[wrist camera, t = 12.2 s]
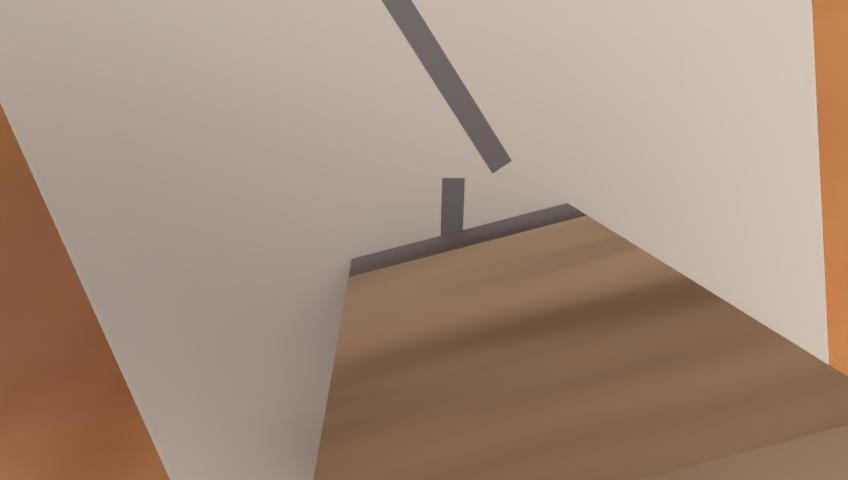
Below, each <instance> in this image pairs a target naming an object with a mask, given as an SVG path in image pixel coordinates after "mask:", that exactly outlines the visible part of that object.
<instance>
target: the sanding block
mask: <svg viewBox="0 0 848 480" xmlns="http://www.w3.org/2000/svg"><path fill="white" fill-rule="evenodd" d="M313 480H848V377H847V376H846V375H844V374H843V373H841V372H839V371H838V370H836V369H835V368H833V367H831V366H830V365H828V364H826V363H825V362H823V361H822V360H820V359H818V358H817V357H815V356H814V355H812V354H810V353H809V352H807V351H805V350H804V349H802V348H801V347H799V346H797V345H796V344H794V343H793V342H791V341H789V340H788V339H786V338H785V337H783V336H781V335H780V334H778V333H776V332H775V331H773V330H772V329H770V328H768V327H767V326H765V325H764V324H762V323H760V322H759V321H757V320H755V319H754V318H752V317H751V316H749V315H747V314H746V313H744V312H743V311H741V310H739V309H738V308H736V307H734V306H733V305H731V304H730V303H728V302H726V301H725V300H723V299H722V298H720V297H718V296H717V295H715V294H714V293H712V292H710V291H709V290H707V289H705V288H704V287H702V286H701V285H699V284H697V283H696V282H694V281H693V280H691V279H689V278H688V277H686V276H684V275H683V274H681V273H680V272H678V271H676V270H675V269H673V268H672V267H670V266H668V265H667V264H665V263H664V262H662V261H660V260H659V259H657V258H655V257H654V256H652V255H651V254H649V253H647V252H646V251H644V250H643V249H641V248H639V247H638V246H636V245H634V244H633V243H631V242H630V241H628V240H626V239H625V238H623V237H622V236H620V235H618V234H617V233H615V232H613V231H612V230H610V229H609V228H607V227H605V226H604V225H602V224H601V223H599V222H597V221H596V220H594V219H593V218H591V217H589V216H588V215H586V214H584V213H583V212H581V211H580V210H578V209H576V208H575V207H573V206H572V205H570V204H568V203H566V204H562V205H558V206H554V207H550V208H546V209H542V210H539V211H535V212H531V213H527V214H523V215H519V216H515V217H512V218H508V219H504V220H500V221H496V222H492V223H488V224H485V225H481V226H477V227H473V228H469V229H465V230H461V231H457V232H454V233H450V234H446V235H442V236H438V237H434V238H430V239H427V240H423V241H419V242H415V243H411V244H407V245H403V246H400V247H396V248H392V249H388V250H384V251H380V252H376V253H373V254H369V255H365V256H361V257H357V258H353V259H352V260H351V266H350V272H349V278H348V283H347V289H346V295H345V301H344V306H343V312H342V318H341V324H340V329H339V335H338V341H337V347H336V352H335V358H334V364H333V370H332V375H331V381H330V387H329V393H328V398H327V404H326V410H325V416H324V421H323V427H322V433H321V439H320V444H319V450H318V456H317V462H316V467H315V473H314V479H313Z"/></svg>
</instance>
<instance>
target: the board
mask: <svg viewBox="0 0 848 480" xmlns="http://www.w3.org/2000/svg"><path fill="white" fill-rule="evenodd" d="M0 104H1V106H2V108H3V110H4V113H5V115H6V117H7V119H8V121H9V124H10V126H11V128H12V130H13V133H14V135H15V137H16V139H17V141H18V144H19V146H20V148H21V150H22V152H23V155H24V157H25V159H26V161H27V164H28V166H29V168H30V170H31V172H32V175H33V177H34V179H35V181H36V184H37V186H38V188H39V190H40V192H41V195H42V197H43V199H44V201H45V204H46V206H47V208H48V210H49V212H50V215H51V217H52V219H53V221H54V224H55V226H56V228H57V230H58V232H59V235H60V237H61V239H62V241H63V244H64V246H65V248H66V250H67V252H68V255H69V257H70V259H71V261H72V264H73V266H74V268H75V270H76V272H77V275H78V277H79V279H80V281H81V283H82V286H83V288H84V290H85V292H86V295H87V297H88V299H89V301H90V303H91V306H92V308H93V310H94V312H95V315H96V317H97V319H98V321H99V323H100V326H101V328H102V330H103V332H104V335H105V337H106V339H107V341H108V343H109V346H110V348H111V350H112V352H113V355H114V357H115V359H116V361H117V363H118V366H119V368H120V370H121V372H122V375H123V377H124V379H125V381H126V383H127V386H128V388H129V390H130V392H131V395H132V397H133V399H134V401H135V403H136V406H137V408H138V410H139V412H140V414H141V417H142V419H143V421H144V423H145V426H146V428H147V430H148V432H149V434H150V437H151V439H152V441H153V443H154V446H155V448H156V450H157V452H158V454H159V457H160V459H161V461H162V463H163V466H164V468H165V470H166V472H167V474H168V477H169V479H170V480H313V479H314V473H315V467H316V462H317V456H318V450H319V444H320V439H321V433H322V427H323V421H324V416H325V410H326V404H327V398H328V393H329V387H330V381H331V375H332V370H333V364H334V358H335V352H336V347H337V341H338V335H339V329H340V324H341V318H342V312H343V306H344V301H345V295H346V289H347V283H348V278H349V272H350V266H351V260H352V259H353V258H357V257H361V256H365V255H369V254H373V253H376V252H380V251H384V250H388V249H392V248H396V247H400V246H403V245H407V244H411V243H415V242H419V241H423V240H427V239H430V238H434V237H438V236H442V235H446V234H450V233H454V232H457V231H461V230H465V229H469V228H473V227H477V226H481V225H485V224H488V223H492V222H496V221H500V220H504V219H508V218H512V217H515V216H519V215H523V214H527V213H531V212H535V211H539V210H542V209H546V208H550V207H554V206H558V205H562V204H566V203H568V204H570V205H572V206H573V207H575V208H576V209H578V210H580V211H581V212H583V213H584V214H586V215H588V216H589V217H591V218H593V219H594V220H596V221H597V222H599V223H601V224H602V225H604V226H605V227H607V228H609V229H610V230H612V231H613V232H615V233H617V234H618V235H620V236H622V237H623V238H625V239H626V240H628V241H630V242H631V243H633V244H634V245H636V246H638V247H639V248H641V249H643V250H644V251H646V252H647V253H649V254H651V255H652V256H654V257H655V258H657V259H659V260H660V261H662V262H664V263H665V264H667V265H668V266H670V267H672V268H673V269H675V270H676V271H678V272H680V273H681V274H683V275H684V276H686V277H688V278H689V279H691V280H693V281H694V282H696V283H697V284H699V285H701V286H702V287H704V288H705V289H707V290H709V291H710V292H712V293H714V294H715V295H717V296H718V297H720V298H722V299H723V300H725V301H726V302H728V303H730V304H731V305H733V306H734V307H736V308H738V309H739V310H741V311H743V312H744V313H746V314H747V315H749V316H751V317H752V318H754V319H755V320H757V321H759V322H760V323H762V324H764V325H765V326H767V327H768V328H770V329H772V330H773V331H775V332H776V333H778V334H780V335H781V336H783V337H785V338H786V339H788V340H789V341H791V342H793V343H794V344H796V345H797V346H799V347H801V348H802V349H804V350H805V351H807V352H809V353H810V354H812V355H814V356H815V357H817V358H818V359H820V360H822V361H823V362H825V363H826V364H828V365H829V356H828V335H827V314H826V293H825V271H824V250H823V229H822V208H821V186H820V165H819V144H818V123H817V101H816V80H815V59H814V38H813V16H812V0H0Z"/></svg>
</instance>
